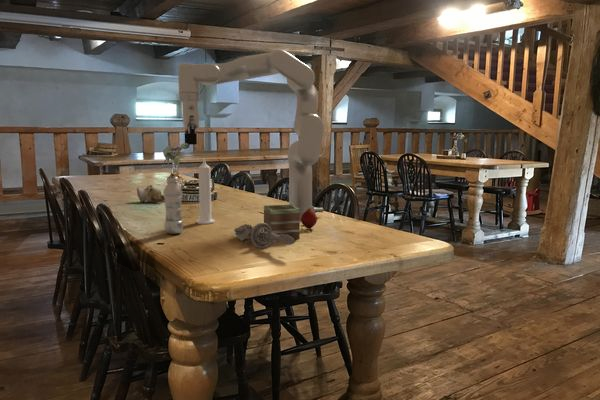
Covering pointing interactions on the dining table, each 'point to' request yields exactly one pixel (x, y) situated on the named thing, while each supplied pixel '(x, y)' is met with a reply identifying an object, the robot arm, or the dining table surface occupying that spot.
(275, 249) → the dining table surface
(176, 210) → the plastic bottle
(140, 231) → the dining table surface
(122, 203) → the dining table surface
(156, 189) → the ceramic sculpture
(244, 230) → the spaceship
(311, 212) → the onion
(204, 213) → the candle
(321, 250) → the dining table surface
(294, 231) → the green shadow box
